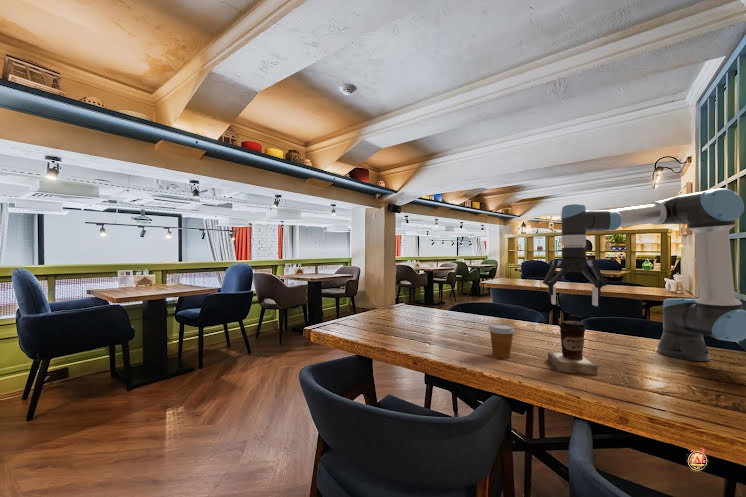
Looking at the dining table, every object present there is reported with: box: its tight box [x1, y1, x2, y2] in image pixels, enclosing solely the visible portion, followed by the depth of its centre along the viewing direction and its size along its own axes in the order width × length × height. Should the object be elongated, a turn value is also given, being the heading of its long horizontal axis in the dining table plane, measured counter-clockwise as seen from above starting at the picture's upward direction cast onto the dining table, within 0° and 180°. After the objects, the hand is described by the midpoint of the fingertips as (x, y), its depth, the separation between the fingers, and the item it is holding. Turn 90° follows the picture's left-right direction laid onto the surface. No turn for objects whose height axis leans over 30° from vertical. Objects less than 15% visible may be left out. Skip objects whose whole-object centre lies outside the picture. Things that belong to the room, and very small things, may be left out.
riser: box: [547, 351, 598, 376], centre depth 115 cm, size 12×12×3 cm
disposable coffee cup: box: [488, 323, 515, 360], centre depth 126 cm, size 10×10×12 cm
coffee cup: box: [559, 320, 587, 360], centre depth 115 cm, size 9×8×13 cm
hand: (574, 304), depth 116 cm, fingers open, 13 cm apart
